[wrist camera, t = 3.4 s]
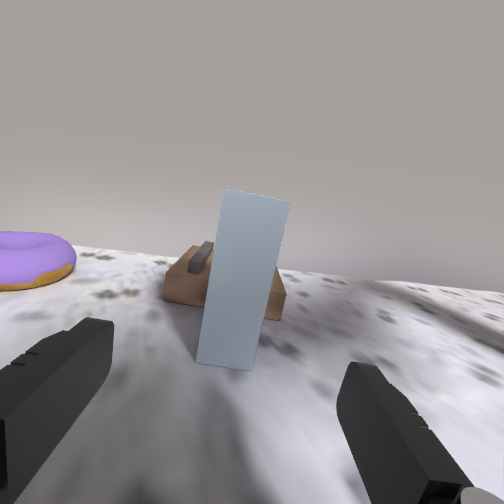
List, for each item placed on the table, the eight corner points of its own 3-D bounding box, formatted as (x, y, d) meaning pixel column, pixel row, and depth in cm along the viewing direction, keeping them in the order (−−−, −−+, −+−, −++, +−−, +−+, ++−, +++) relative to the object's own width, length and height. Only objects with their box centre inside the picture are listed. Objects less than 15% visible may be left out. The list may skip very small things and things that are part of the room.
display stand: (269, 279, 37) (276, 252, 36) (279, 320, 26) (289, 282, 25) (190, 265, 37) (193, 237, 36) (162, 300, 25) (167, 260, 24)
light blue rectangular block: (250, 326, 23) (278, 198, 21) (251, 371, 18) (290, 202, 15) (207, 319, 23) (230, 188, 20) (194, 362, 17) (222, 188, 15)
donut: (-45, 255, 25) (-34, 209, 25) (67, 270, 31) (78, 233, 31) (-92, 299, 17) (-77, 235, 17) (68, 308, 23) (83, 260, 23)
